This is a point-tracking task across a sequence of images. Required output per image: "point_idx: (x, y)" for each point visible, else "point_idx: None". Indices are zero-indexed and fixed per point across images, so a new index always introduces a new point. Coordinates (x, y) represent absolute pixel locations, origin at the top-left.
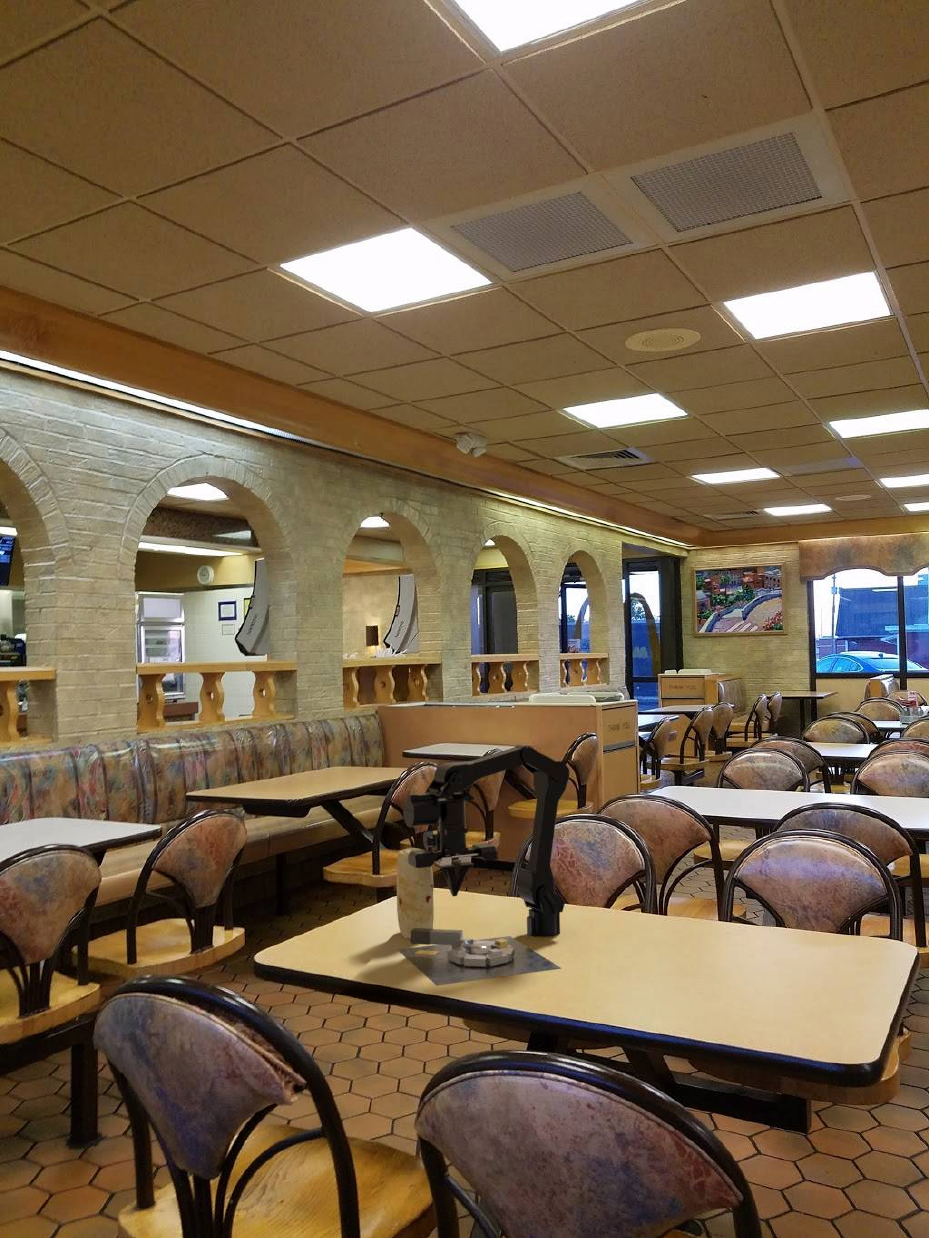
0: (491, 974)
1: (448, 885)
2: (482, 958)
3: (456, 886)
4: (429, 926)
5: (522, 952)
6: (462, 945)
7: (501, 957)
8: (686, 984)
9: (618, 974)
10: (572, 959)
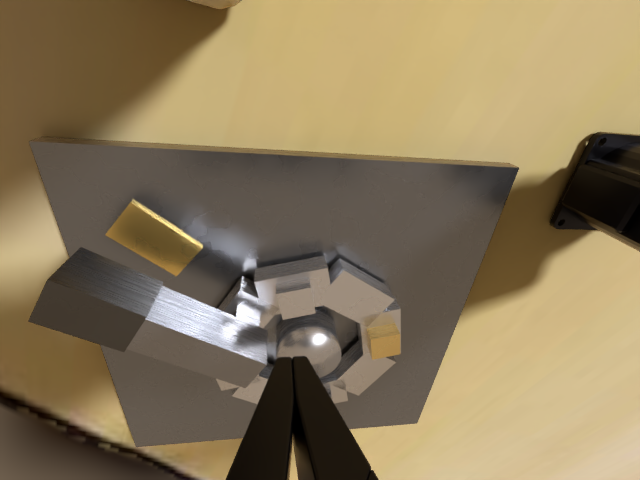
0: None
1: (247, 432)
2: None
3: (298, 473)
4: (213, 2)
5: (424, 326)
6: (274, 301)
7: None
8: (514, 472)
9: (483, 433)
10: (493, 359)
